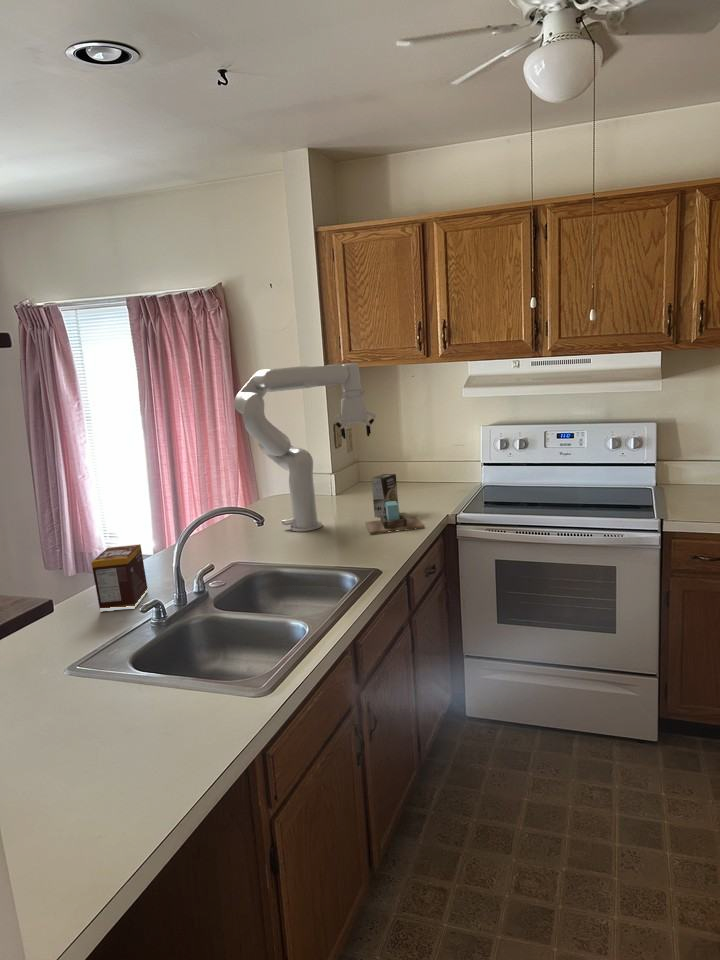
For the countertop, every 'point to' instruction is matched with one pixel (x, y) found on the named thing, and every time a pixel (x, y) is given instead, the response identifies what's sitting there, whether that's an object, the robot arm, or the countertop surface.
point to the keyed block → (392, 510)
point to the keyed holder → (393, 524)
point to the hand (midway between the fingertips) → (356, 437)
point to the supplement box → (119, 576)
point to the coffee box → (383, 492)
